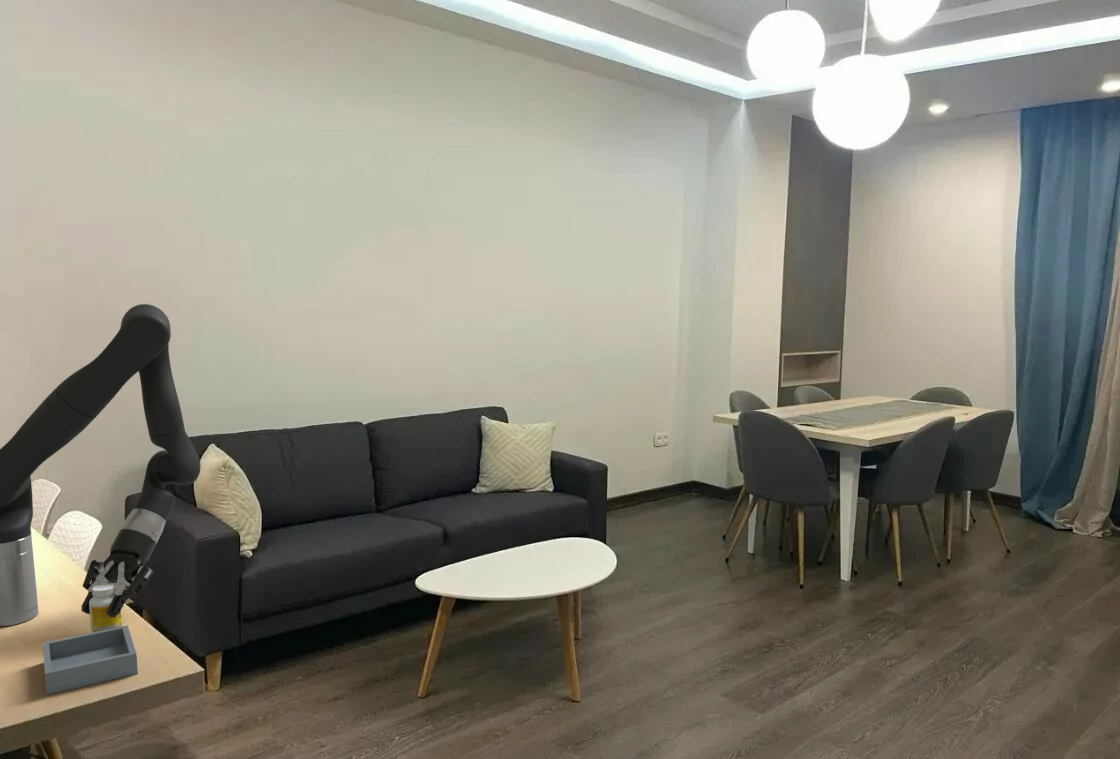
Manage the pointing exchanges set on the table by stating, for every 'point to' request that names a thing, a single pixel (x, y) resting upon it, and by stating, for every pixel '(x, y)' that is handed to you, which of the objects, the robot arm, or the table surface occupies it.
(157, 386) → the robot arm
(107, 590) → the supplement bottle
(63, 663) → the tray
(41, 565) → the table surface
